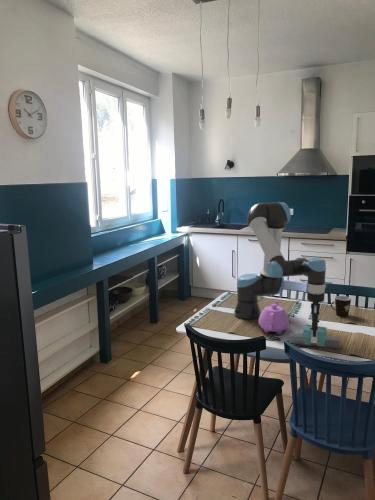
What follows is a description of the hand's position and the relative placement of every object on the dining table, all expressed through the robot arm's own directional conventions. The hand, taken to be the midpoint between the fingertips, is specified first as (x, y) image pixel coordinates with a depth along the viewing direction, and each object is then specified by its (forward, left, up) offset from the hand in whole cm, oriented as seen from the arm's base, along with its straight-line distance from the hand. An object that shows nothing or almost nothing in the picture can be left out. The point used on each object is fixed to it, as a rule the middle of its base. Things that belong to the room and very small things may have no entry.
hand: (314, 339), depth 181 cm
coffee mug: (+13, +45, -3) cm, 47 cm away
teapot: (-20, +14, -3) cm, 25 cm away
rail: (0, 0, -3) cm, 3 cm away
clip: (0, 0, -2) cm, 2 cm away
